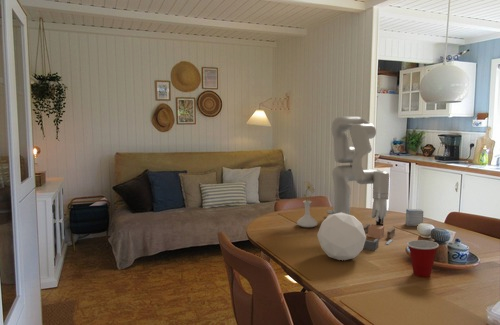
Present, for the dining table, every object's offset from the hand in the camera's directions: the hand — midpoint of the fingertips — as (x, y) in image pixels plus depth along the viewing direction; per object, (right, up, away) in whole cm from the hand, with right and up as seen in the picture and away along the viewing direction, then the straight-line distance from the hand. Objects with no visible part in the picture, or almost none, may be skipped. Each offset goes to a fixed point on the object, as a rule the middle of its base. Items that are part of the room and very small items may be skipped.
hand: (379, 231), depth 190 cm
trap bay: (-14, -4, -20) cm, 25 cm away
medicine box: (+25, 0, +16) cm, 29 cm away
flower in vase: (-35, 0, +15) cm, 38 cm away
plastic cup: (-2, -7, -51) cm, 51 cm away
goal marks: (-7, -2, -9) cm, 11 cm away
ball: (-28, -5, -34) cm, 44 cm away
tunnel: (-1, -2, -1) cm, 2 cm away
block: (-3, -2, -4) cm, 6 cm away
